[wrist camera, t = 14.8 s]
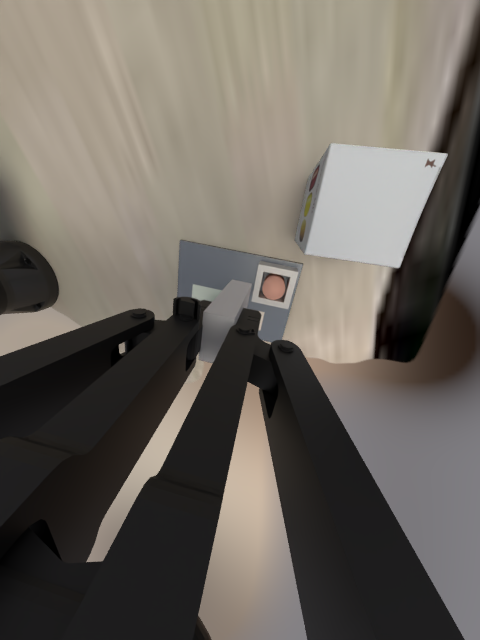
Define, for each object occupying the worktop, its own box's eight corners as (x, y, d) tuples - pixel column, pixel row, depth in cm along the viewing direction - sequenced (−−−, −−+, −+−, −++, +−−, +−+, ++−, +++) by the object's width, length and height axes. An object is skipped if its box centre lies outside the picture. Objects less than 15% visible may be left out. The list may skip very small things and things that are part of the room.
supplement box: (307, 175, 33) (330, 134, 18) (371, 182, 32) (454, 145, 17) (293, 243, 37) (302, 256, 22) (350, 250, 36) (401, 270, 21)
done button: (262, 290, 40) (260, 297, 36) (266, 270, 38) (265, 275, 35) (281, 294, 40) (282, 301, 36) (286, 275, 38) (287, 280, 34)
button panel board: (177, 319, 47) (168, 327, 43) (181, 239, 40) (171, 241, 36) (280, 342, 45) (280, 353, 41) (302, 263, 38) (305, 268, 34)
